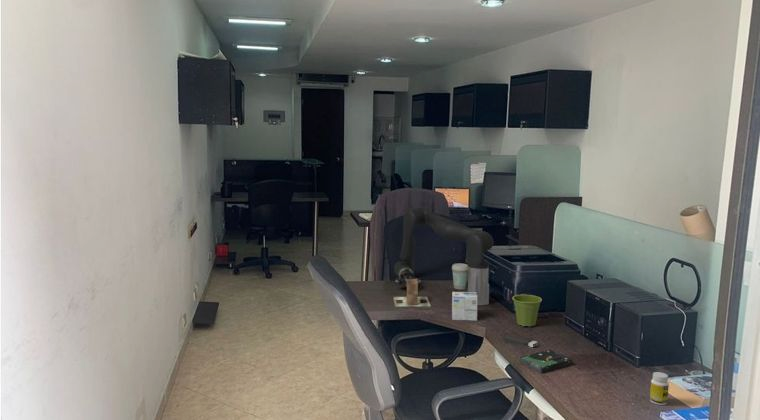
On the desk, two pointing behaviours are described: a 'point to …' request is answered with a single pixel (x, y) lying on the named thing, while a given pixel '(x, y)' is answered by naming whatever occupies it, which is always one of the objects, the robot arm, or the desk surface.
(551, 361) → the disk drive
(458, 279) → the coffee cup
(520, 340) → the usb drive
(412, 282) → the walnut block
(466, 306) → the light bulb box
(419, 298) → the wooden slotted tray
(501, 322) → the desk surface
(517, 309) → the plant pot
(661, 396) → the supplement bottle
